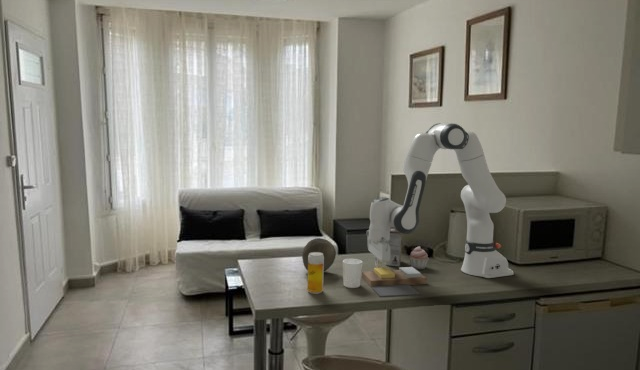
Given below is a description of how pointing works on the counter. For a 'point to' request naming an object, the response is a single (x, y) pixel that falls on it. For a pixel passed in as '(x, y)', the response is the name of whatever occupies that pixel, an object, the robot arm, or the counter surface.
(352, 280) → the white cup
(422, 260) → the cupcake
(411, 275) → the grey flat block
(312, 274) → the pill bottle
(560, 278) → the counter surface
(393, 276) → the card mustard
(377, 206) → the robot arm
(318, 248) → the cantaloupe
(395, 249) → the coffee box
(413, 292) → the mat
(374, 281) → the brown wooden flat block
